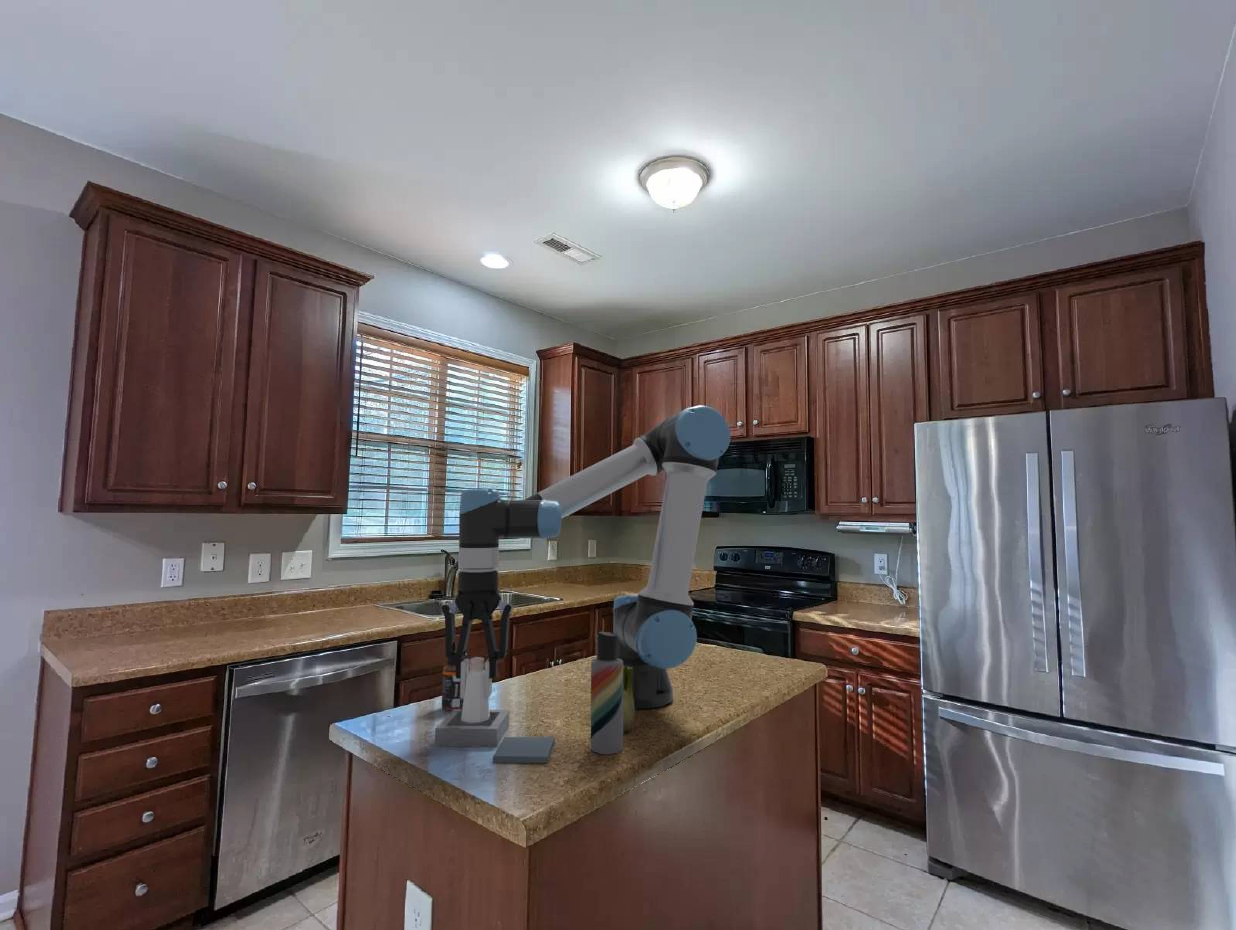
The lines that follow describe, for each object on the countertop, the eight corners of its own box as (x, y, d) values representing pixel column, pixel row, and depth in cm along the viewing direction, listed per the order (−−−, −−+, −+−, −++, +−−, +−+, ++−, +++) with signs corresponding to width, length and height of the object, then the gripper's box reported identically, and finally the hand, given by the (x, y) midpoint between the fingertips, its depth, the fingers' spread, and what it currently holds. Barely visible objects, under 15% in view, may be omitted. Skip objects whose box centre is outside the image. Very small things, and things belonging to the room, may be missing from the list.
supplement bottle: (462, 713, 125) (464, 657, 126) (436, 711, 126) (437, 656, 127) (475, 705, 131) (476, 651, 132) (449, 703, 132) (451, 650, 133)
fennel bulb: (602, 735, 112) (603, 669, 113) (605, 726, 117) (605, 663, 118) (634, 736, 112) (634, 670, 113) (635, 727, 117) (635, 663, 118)
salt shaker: (464, 725, 109) (466, 662, 110) (457, 716, 114) (458, 657, 115) (494, 720, 112) (495, 659, 113) (485, 712, 117) (486, 654, 118)
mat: (554, 743, 108) (554, 737, 108) (547, 763, 99) (547, 756, 99) (504, 742, 108) (504, 736, 109) (493, 762, 99) (493, 756, 100)
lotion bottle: (589, 743, 108) (590, 629, 110) (621, 742, 109) (621, 629, 110) (591, 755, 102) (591, 635, 104) (624, 754, 103) (624, 634, 105)
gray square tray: (509, 725, 117) (509, 709, 118) (496, 746, 106) (496, 728, 107) (453, 725, 118) (453, 709, 118) (434, 745, 107) (435, 728, 107)
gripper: (525, 568, 119) (524, 690, 117) (440, 568, 119) (437, 690, 117) (518, 571, 112) (517, 702, 109) (428, 571, 112) (424, 701, 110)
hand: (476, 695), depth 113 cm, fingers closed on salt shaker, 4 cm apart
